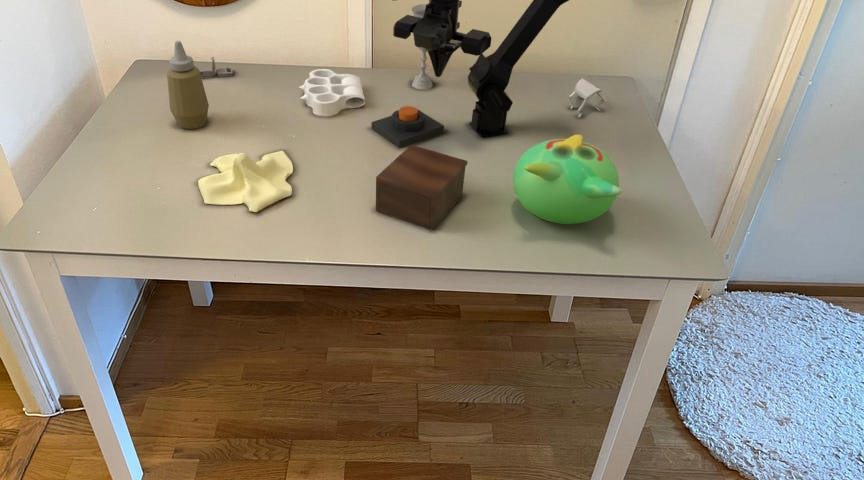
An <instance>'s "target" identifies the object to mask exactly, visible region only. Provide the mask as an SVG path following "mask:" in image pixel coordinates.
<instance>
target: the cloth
mask: <svg viewBox="0 0 864 480" xmlns="http://www.w3.org/2000/svg"><path fill="white" fill-rule="evenodd" d="M209 165H210V166H211V167H216V168H217V170H218V171H219V172H220V173H215V174H210V175H207V176H203V177H201V178H200V179H198V181H197V184H198V185H197V186H198V188H199V191H200V194H201V196H202V199H203V203H204V204H206V205H216V206H236V205H237V206H238V205H242V204H245V205H246V206H247V208H248V210H249V211H250V212H253V213H258V212H259V211H261V210H263V209H264V208H266V207H268V206H270V205H272V204H274V203H276V202H279V201H280V200H283V199H285V198H288V197H291V196H292V194H293V188H292V185H291V184H290V183H288V181H287V179H288V178H289V177H291V175H292V174H293V172H294V166H293V163H292V161H291V159H290V158H289V157H288V155H287V154H286V153H285V151H283V150H280V151H275V152H270V153H267V154H265V155H263V156H262V157H261V160H259V161H256V162H255V160H254V159H252V158H251V157H249V156H248V155H247V154H245V152H243V151H242V152H240V153H236V152H235V153H229V154H225V155H222V156H219V157H215V159H213V161H212V162H211V163H209Z"/></svg>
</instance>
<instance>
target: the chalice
mask: <svg viewBox="0 0 864 480" xmlns="http://www.w3.org/2000/svg"><path fill="white" fill-rule="evenodd" d="M427 4H428V3H420V4H416V5H414V6H412V7H411V11H412V14H413V16H416V17H420V18H423V16H424V13H425V8H426V5H427ZM417 48H418V49H419V50H420V51H421V56H420V60H421V63H420V64H419V67H420V72H419V73H418V74H416V75H415V77H414V79H413V81H412V83H411V86H412V87H413V88H415V89H418V90H428V89H431V88H432V87H433V83H432V80H431V77H430V75H429V74H427V73H426V69H427V67H428V65H427V63H426V61H427V59H428V57H427V50H426V49H425V48H423V47H420V48H419V47H417Z"/></svg>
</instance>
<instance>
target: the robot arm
mask: <svg viewBox="0 0 864 480" xmlns="http://www.w3.org/2000/svg"><path fill="white" fill-rule="evenodd" d="M391 1H396V0H391ZM569 1H570V0H532V1H531V3H530V4H529V6H527V8H526V9H525V11H524V12H523V14H522V15H521V16H520V18H519V19H518V20H517V21H516V22H515V24H514V26H513V27H512V28H511V29H510V31H509V32H508V34H507V35H506V36H505V38H504V39H503V40H502V42H501V43H500V44H499V45H498V47H497V48H496V50H495V51H494V52H493V53H491V54H489V55H487V56H485V55H484V53H485V52H486V51H487V50H488V49H490V48H491V45H492V37H491V34H490V32H488V31H484V30H480V29H474V28H472V29H471V30H469V31H468V32H467V33H464V32H460V31H458V29H460V27H461V22H459V21H458V20H459V11H460V8H461V7H462V4H463V1H462V0H428V3H426V4H427V5H426V8H425V13H424V16H423V18H420V17H416V16H414V15H410V14H406V15H404V16H403V17H402V18H400V19H398V20H397V21H396V22H395V23H394V25H393V26H392V27H393V29H392V36H393V37H395V38H399V39H403V40H407V39H409V38H410V37H411V35H413V42H414V43H413V44H414V46H415V47H416V48H418V47H419V48H420V47H423V48H425V49H426V50H427V51H426V53H427V54H428V56H429V60H430V62H431V65H432V66H431V67H432V70H433V72H434V76H435V77H436V78H440V77H442V75H443V74H444V71H445V69H446V67H447V65H448V63H449V62H450V59H451V57H452V55H453V53H455V52H456V51H457V50H458V49H461V51H462V52H463V53H464V54H468V55H472V56H476V57H477V56H478V57H477V59H476V60H475V62H474V64H473V65H472V66H469V69H468V70H469V71H470V72H469V73H468V75H467V83H468V86H469V88H470V89H471V91H472V93H473V94H474V95H475V97H476V98H477V101H475V106H474V108H473V110H472V112H471V113H472V114H471V121H470V122H469V126H470V127H471V128H472V129H473V131H474V132H476V134H477V135H478V136H479V137H480V138H482V139H485V138H490V137H495V136H501V135H506V134H509V130H508V129H507V128H506V124H507V116H508V112H509V111H510V109H511V108H512V105H513V103H514V102H513V100H512V99H511V97H509V95H508V94H507V92H506V91H505V90H506V88H507V87H508V85H509V83H510V79H511V76H512V73H513V69H514V67H515V65H516V64H517V63H518V62H519V60H520V59H521V58H522V56H523V55H524V54H525V52H526V51H527V50H528V48H530V46H531V45H532V43H533V42H534V40H535V39H536V38H537V37H538V35H539V34H540V33H541V31H542V30H543V29H544V28H545V26H546V24H547V23H548V22H549V21H550V20H551V18H552V17H553V15H554V14H555V13H556V12H557V10H559V8H560V7H561V6H563V4H566V3H567V2H569ZM419 48H418V49H419Z"/></svg>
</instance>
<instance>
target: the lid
mask: <svg viewBox="0 0 864 480" xmlns="http://www.w3.org/2000/svg"><path fill="white" fill-rule="evenodd" d="M467 166H468V160H465V159H462V158H458V157H456V156H451V155H448V154H446V153H441V152H439V151H435V150H433V149H428V148H425V147H422V146H419V145H418V146H417V145H415V144H410V145H408V146H407V148H406V149H404V151H403V152H402V153H400V154H399V155H398V156H397V157H396V158H395V159H394V160H393V161H391V162H390V163H389V164H388V165H387V166H386V167H385V168H384V169H383V170H382V171H381V172H380V173H379V174H377V176H376V177H375V182H376V181H379V182H382V183H385V184H388V185H391V186H394V187H397V188H401V189H404V190H407V191H410V192H413V193H416V194H419V195H422V196H425V197H428V198H431V199H436V198H437V197H438V196H439V195H440V194H441V193H442V192H443V191H444V190H445V188H446V187H447V186H448V185H449V184H450V183H451V182H452V181H453V180H454V179H455V177H456V176H457V175H458V174H459V173H460V172H461V171H462V170H463V169H464V168H465V169H466V167H467Z"/></svg>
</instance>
